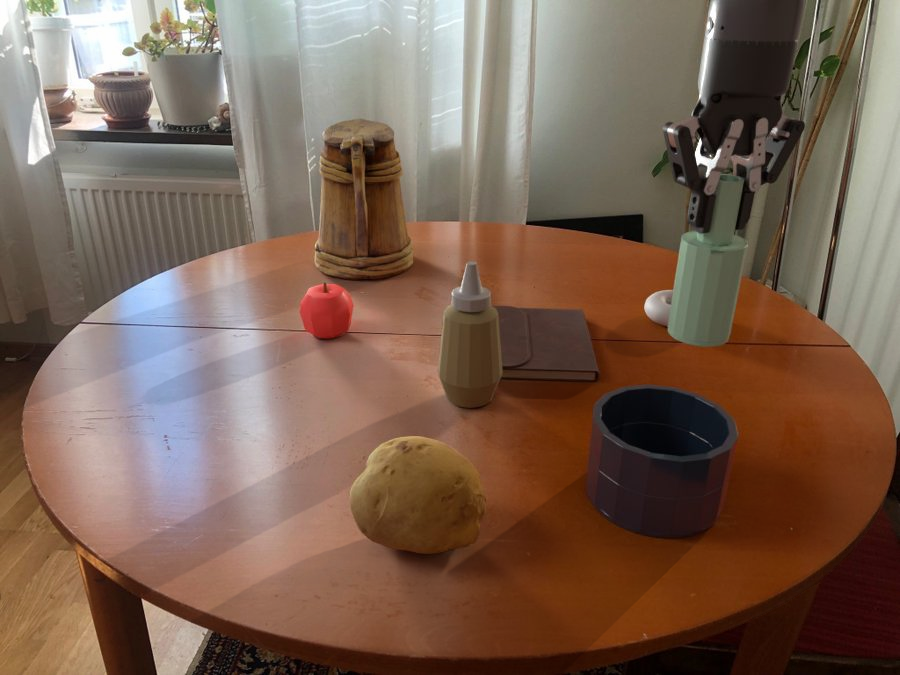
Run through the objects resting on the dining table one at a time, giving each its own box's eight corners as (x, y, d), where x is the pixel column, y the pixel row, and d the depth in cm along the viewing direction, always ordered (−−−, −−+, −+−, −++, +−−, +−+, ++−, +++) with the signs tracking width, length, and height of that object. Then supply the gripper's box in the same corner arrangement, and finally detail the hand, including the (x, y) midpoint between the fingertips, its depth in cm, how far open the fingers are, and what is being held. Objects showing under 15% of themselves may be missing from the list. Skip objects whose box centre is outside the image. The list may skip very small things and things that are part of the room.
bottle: (725, 324, 77) (755, 172, 70) (732, 349, 72) (764, 188, 65) (666, 318, 79) (689, 168, 72) (668, 343, 73) (693, 183, 66)
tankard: (407, 243, 146) (404, 113, 135) (422, 289, 126) (420, 139, 114) (314, 248, 144) (303, 116, 133) (314, 295, 123) (301, 143, 112)
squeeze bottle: (454, 376, 99) (455, 247, 91) (511, 389, 95) (517, 257, 87) (426, 404, 92) (424, 268, 84) (486, 420, 89) (489, 280, 81)
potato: (484, 575, 66) (487, 484, 62) (345, 569, 67) (337, 479, 62) (486, 502, 75) (488, 418, 71) (363, 497, 76) (358, 414, 71)
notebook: (583, 318, 115) (584, 307, 114) (599, 381, 97) (600, 368, 96) (486, 316, 116) (486, 304, 115) (484, 378, 98) (485, 365, 97)
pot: (714, 463, 81) (728, 392, 77) (729, 547, 69) (746, 469, 65) (588, 448, 84) (595, 378, 80) (582, 527, 72) (590, 450, 68)
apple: (306, 347, 106) (301, 296, 102) (297, 325, 113) (293, 276, 109) (360, 339, 108) (357, 289, 105) (349, 318, 115) (346, 269, 111)
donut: (665, 301, 121) (630, 317, 115) (668, 281, 120) (632, 297, 114) (721, 320, 115) (687, 338, 109) (725, 300, 113) (691, 317, 107)
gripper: (705, 38, 58) (674, 249, 65) (852, 36, 62) (805, 235, 69) (654, 31, 64) (630, 223, 72) (789, 29, 68) (753, 212, 76)
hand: (717, 228), depth 70 cm, fingers closed on bottle, 3 cm apart
